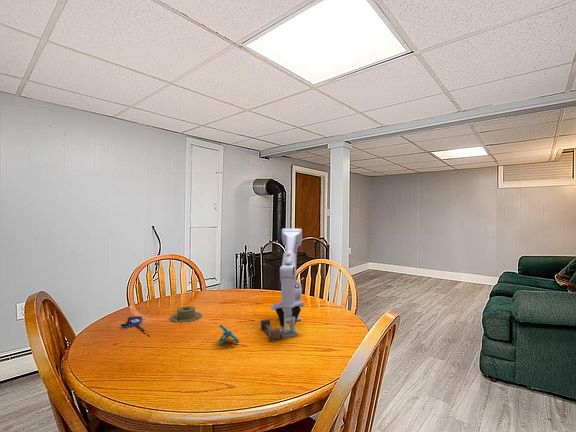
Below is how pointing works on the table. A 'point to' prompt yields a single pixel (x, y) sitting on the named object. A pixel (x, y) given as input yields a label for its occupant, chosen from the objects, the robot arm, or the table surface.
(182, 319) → the flange
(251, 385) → the table surface
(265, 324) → the rail
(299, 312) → the robot arm
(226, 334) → the blue lobed piece
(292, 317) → the bracket
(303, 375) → the table surface
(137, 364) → the table surface
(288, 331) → the mat
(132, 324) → the bar clamp
